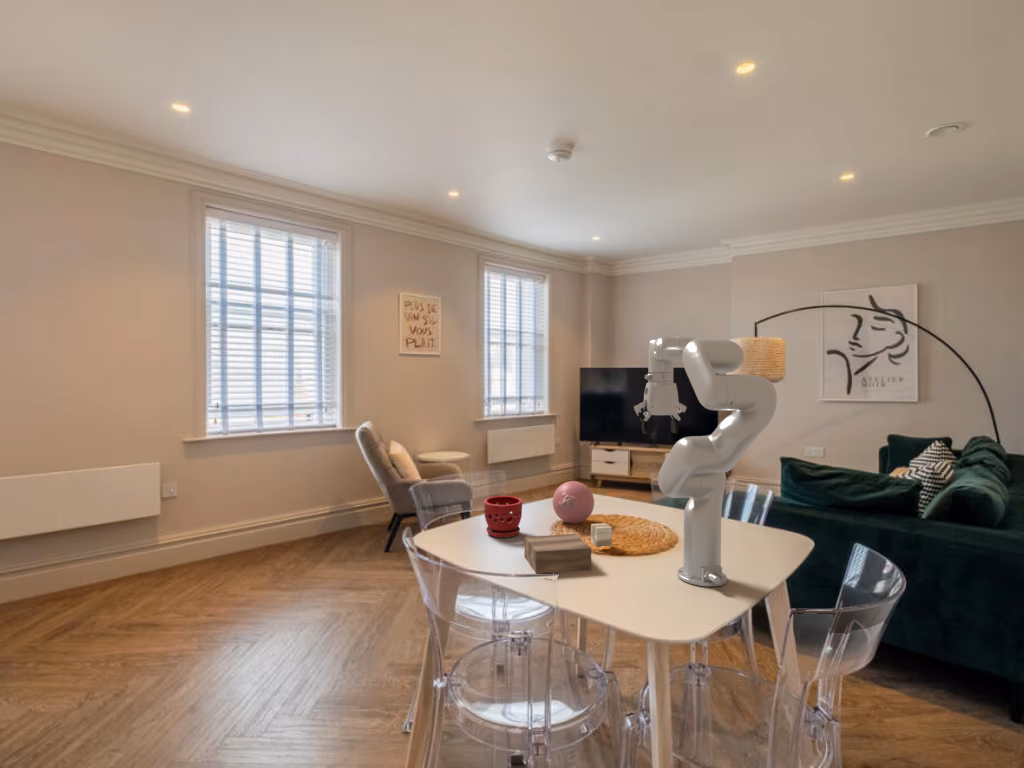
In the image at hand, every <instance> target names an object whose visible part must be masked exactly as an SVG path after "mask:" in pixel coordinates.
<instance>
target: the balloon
mask: <svg viewBox="0 0 1024 768" xmlns="http://www.w3.org/2000/svg"><path fill="white" fill-rule="evenodd" d="M552 507H553V511H554V512H555V514H556V516H557V517H558V518H560V520H562V521H563V522H566V523H568V524H580V523H582V522H584V521H585V520H587V519H589V517H590V516H591V515H592V513H593V511H594V508H595V498H594V495H593V492H592V491H591V490H590V488H589V487H588V486H587V485H585V484H584V483H582V482H580V481H577V480H571V481H570V480H569V481H566V482H564V483H561V484H560V485H559V486H558V487H557V488H556V489H555V491H554V493H553V497H552Z"/></svg>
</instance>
